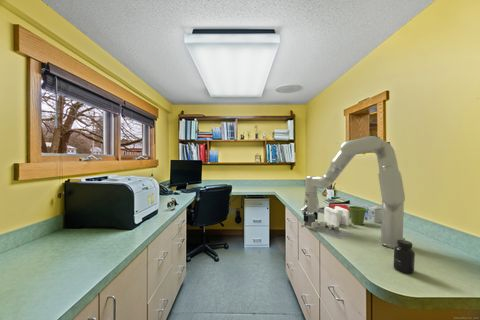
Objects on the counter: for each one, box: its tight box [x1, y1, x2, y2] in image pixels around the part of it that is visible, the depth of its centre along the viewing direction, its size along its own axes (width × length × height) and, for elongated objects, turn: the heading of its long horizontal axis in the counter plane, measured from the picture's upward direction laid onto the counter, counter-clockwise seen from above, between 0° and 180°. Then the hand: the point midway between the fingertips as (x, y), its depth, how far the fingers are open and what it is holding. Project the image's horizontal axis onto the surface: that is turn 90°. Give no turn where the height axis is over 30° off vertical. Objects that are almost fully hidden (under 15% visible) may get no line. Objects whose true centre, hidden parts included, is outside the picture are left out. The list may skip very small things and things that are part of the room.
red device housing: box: [328, 203, 350, 213], centre depth 176 cm, size 18×14×5 cm
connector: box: [306, 213, 316, 227], centre depth 137 cm, size 4×4×8 cm
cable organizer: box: [323, 206, 350, 228], centre depth 144 cm, size 15×11×12 cm
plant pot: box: [348, 205, 367, 226], centre depth 148 cm, size 12×12×11 cm
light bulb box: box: [362, 204, 382, 224], centre depth 156 cm, size 11×7×11 cm, turn 17°
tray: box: [318, 205, 351, 219], centre depth 176 cm, size 24×28×3 cm
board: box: [300, 219, 353, 240], centre depth 131 cm, size 27×14×5 cm, turn 33°
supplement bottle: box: [392, 239, 416, 275], centre depth 86 cm, size 7×7×12 cm
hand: (310, 220), depth 137 cm, fingers open, 9 cm apart
